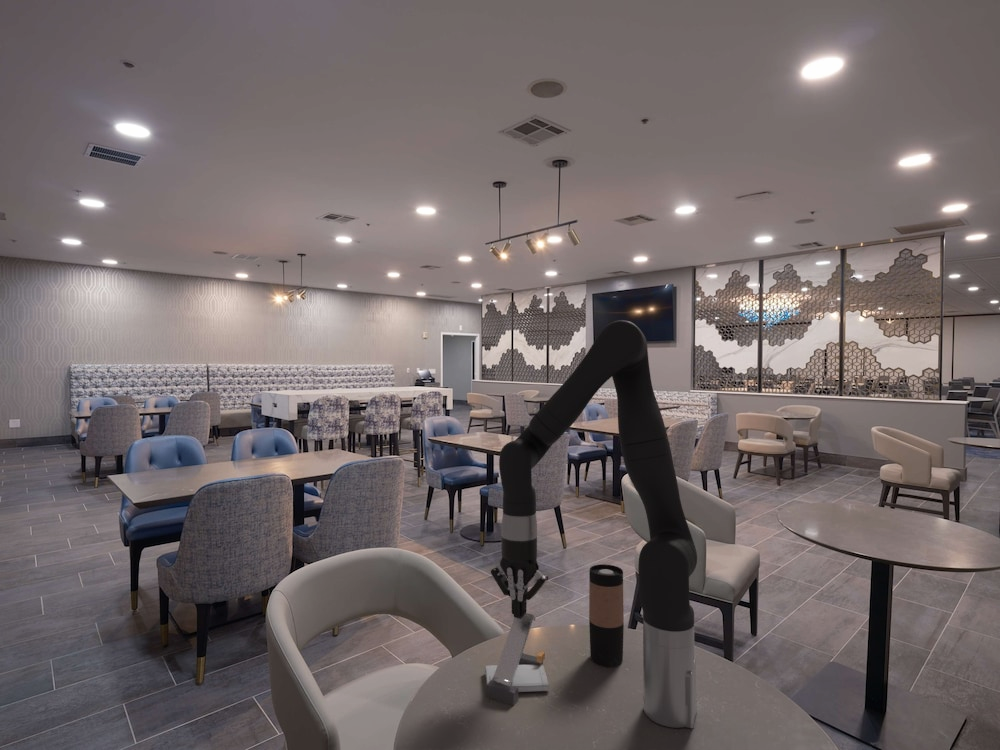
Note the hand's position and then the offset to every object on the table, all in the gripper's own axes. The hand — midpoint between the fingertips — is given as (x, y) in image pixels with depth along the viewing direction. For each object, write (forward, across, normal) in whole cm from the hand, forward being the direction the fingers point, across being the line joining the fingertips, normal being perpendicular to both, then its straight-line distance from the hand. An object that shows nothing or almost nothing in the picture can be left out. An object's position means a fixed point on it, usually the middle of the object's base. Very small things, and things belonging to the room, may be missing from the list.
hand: (518, 616), depth 112 cm
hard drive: (+13, 0, +2) cm, 13 cm away
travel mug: (+13, -14, -16) cm, 25 cm away
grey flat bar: (+6, 0, +2) cm, 7 cm away
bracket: (+13, 0, +2) cm, 13 cm away
